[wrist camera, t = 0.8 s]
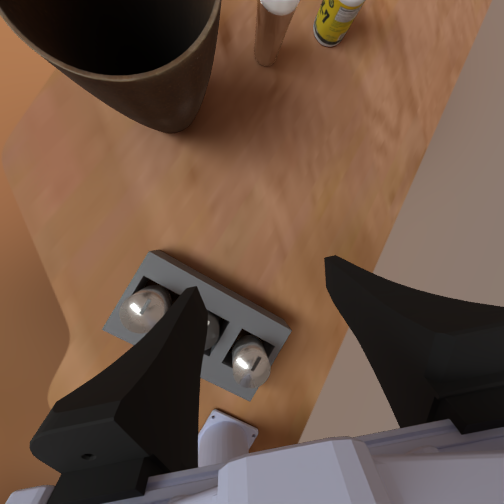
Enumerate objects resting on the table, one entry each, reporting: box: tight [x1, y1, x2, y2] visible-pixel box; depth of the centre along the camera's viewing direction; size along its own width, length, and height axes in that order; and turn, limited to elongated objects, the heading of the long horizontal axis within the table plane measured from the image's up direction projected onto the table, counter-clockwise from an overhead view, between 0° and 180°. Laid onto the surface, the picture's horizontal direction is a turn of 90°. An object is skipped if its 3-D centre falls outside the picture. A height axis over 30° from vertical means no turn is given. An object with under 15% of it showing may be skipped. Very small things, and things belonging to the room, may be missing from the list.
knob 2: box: [232, 335, 271, 388], centre depth 28 cm, size 4×4×4 cm
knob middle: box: [204, 310, 220, 350], centre depth 29 cm, size 4×4×4 cm
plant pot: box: [0, 0, 221, 133], centre depth 22 cm, size 15×15×16 cm
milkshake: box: [254, 0, 300, 66], centre depth 26 cm, size 5×5×10 cm
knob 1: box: [119, 285, 172, 334], centre depth 26 cm, size 4×4×4 cm
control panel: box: [102, 250, 292, 401], centre depth 30 cm, size 11×21×4 cm, turn 59°
